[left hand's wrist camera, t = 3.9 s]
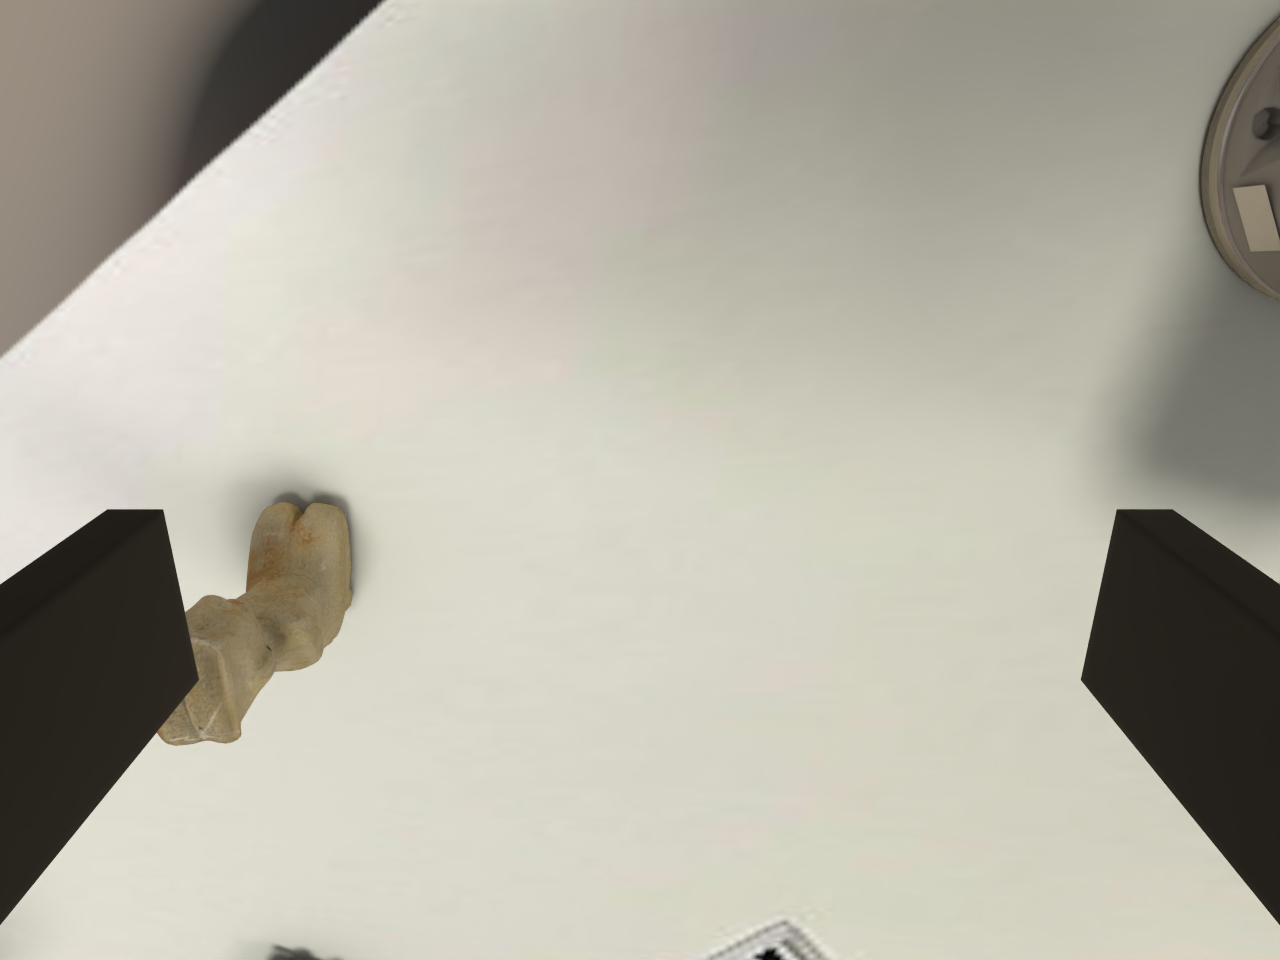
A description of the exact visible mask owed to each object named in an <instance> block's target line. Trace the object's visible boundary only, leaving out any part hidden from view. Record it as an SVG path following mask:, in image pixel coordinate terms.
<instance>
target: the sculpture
mask: <svg viewBox="0 0 1280 960" xmlns="http://www.w3.org/2000/svg"><path fill="white" fill-rule="evenodd" d="M350 575H351V558H350V542H349V531H348V525H347V520H346V517H345V515H344V513H343V512H342V510H341V509H340V508H339V507H337V506H333V505H328V504H323V503H312V504H311V505H309V506H308V507H307V508H306V510H305V512H304V514H302V512H301V511H300V509H299V508H298V507H297V506H295V505H293V504H291V503H288V502H281V503H278V504H274V505H271V506H269V507H267V508H266V509H265V510H264V511H263V513H262V514H261V515H260V517H259V519H258V521H257V523H256V526H255V529H254V531H253V534H252V539H251V546H250V554H249V562H248V572H247V585H246V593H245V594H243V595H241V596H240V597H238V598H237V599H228V600H227V599H225V598H222V597H219V596H215V595H207V596H205V597H203V598H201V599H200V600H199V601H198V602H197V603H196V604H195V605H194V606H193V607H192V608H190V609H189V610H188V611H186V612H185V615H186V620H187V625H188V630H189V634H190V639H191V644H192V648H193V653H194V658H195V663H196V667H197V672H198V677H199V681H198V682H197V683H196V684H195V686H194V687H193V688H192V689H191V691H190V692H189V693H188V694H187V696H186V697H185V698H184V699H183V700H182V702H181V703H180V704H179V705H178V707H177V708H176V709H175V710H174V712H173V713H172V714H171V715H170V716H169V718H168V719H167V720H166V721H165V723H164V724H163V725H162V726H161V728H160V729H159V730H158V731H157V734H158V735H159V736H160V737H161V739H162V740H163V741H164V742H165V743H167V744H171V745H176V746H177V745H188V744H194V743H198V742H201V741H214V742H218V743H230V742H234V741H236V740H237V739H239V738H240V736H241V721H242V719H243V717H244V716H245V714H246V712H247V711H248V709H249V707H250V706H251V704H252V702H253V701H254V699H255V697H256V696H257V694H258V693H259V691H260V690H261V689H262V688H263V687H264V685H265V684H266V683H267V682H268V681H269V680H270V678H271V677H272V675H273V674H274V672H277V671H294V670H299V669H303V668H306V667H308V666H310V665H312V664H314V663H316V662H317V661H318V660H319V659H320V658H321V656H322V653H323V648H325V647H326V646H327V645H329V644H330V643H331V642H332V640H333V639H334V638H335V637H336V636H337V635H338V633H339V631H340V628H341V625H342V622H343V618H344V614H345V611H346V610H347V609H348V608H349V606H350V604H351V601H352V589H351V587H350V586H349V585H350Z"/></svg>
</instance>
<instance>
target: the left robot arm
mask: <svg viewBox="0 0 1280 960" xmlns="http://www.w3.org/2000/svg"><path fill="white" fill-rule="evenodd" d="M1201 189H1202V200H1203V207H1204V212H1205V217H1206V221H1207V224H1208V227H1209V231H1210V234H1211V236H1212V238H1213V240H1214V242H1215V245H1216V247H1217V248H1218V250H1219V252H1220V253H1221V255H1222V257H1223V258H1224V260H1225V261H1226V262H1227V263H1228V265H1229V266H1230V267H1231V268H1232V270H1233V271H1234V272H1235V273H1236V274H1238V275H1239V276H1240V277H1241V278H1242V279H1243V280H1244V281H1245V282H1247V283H1248V284H1249V285H1251V286H1252V287H1254V288H1255V289H1257V290H1259V291H1260V292H1262V293H1264V294H1266V295H1268V296H1270V297H1273V298H1275V299H1278V300H1280V18H1279V19H1278V20H1277V21H1276V22H1274V23H1273V24H1272V25H1271V27H1270V28H1269V29H1268V30H1267V31H1266V32H1265V33H1264V34H1263V35H1262V36H1261V37H1260V38H1259V40H1258V41H1257V42H1256V43H1255V45H1254V46H1253V47H1252V48H1251V50H1250V51H1249V52H1248V53H1247V55H1246V56H1245V58H1244V59H1243V61H1242V62H1241V63H1240V65H1239V66H1238V68H1237V69H1236V71H1235V73H1234V74H1233V76H1232V78H1231V80H1230V81H1229V83H1228V85H1227V87H1226V89H1225V91H1224V93H1223V95H1222V97H1221V99H1220V101H1219V103H1218V106H1217V108H1216V111H1215V114H1214V116H1213V119H1212V122H1211V125H1210V129H1209V132H1208V136H1207V139H1206V144H1205V149H1204V155H1203V163H1202V180H1201ZM198 681H199V677H198V672H197V667H196V663H195V658H194V653H193V648H192V644H191V639H190V634H189V630H188V625H187V620H186V615H185V611H184V606H183V601H182V596H181V592H180V587H179V582H178V578H177V573H176V568H175V563H174V559H173V554H172V549H171V544H170V540H169V535H168V530H167V526H166V521H165V516H164V511H163V509H107V510H106V511H105V512H103V513H102V514H100V515H99V516H97V517H96V518H95V519H93V520H92V521H90V522H89V523H87V524H86V525H85V526H83V527H82V528H80V529H79V530H77V531H76V532H75V533H73V534H72V535H70V536H69V537H67V538H66V539H65V540H63V541H62V542H60V543H59V544H57V545H56V546H55V547H53V548H52V549H50V550H49V551H47V552H46V553H45V554H43V555H42V556H40V557H39V558H37V559H36V560H35V561H33V562H32V563H30V564H29V565H27V566H26V567H25V568H23V569H22V570H20V571H19V572H17V573H16V574H15V575H13V576H12V577H10V578H9V579H7V580H6V581H5V582H3V583H2V584H0V925H1V923H2V922H3V921H4V920H5V918H6V917H7V916H8V915H9V914H10V912H11V911H12V910H13V909H14V907H15V906H16V905H17V904H18V902H19V901H20V900H21V899H22V898H23V896H24V895H25V894H26V893H27V891H28V890H29V889H30V888H31V886H32V885H33V884H34V883H35V882H36V880H37V879H38V878H39V877H40V875H41V874H42V873H43V872H44V870H45V869H46V868H47V867H48V866H49V864H50V863H51V862H52V861H53V859H54V858H55V857H56V856H57V854H58V853H59V852H60V851H61V850H62V848H63V847H64V846H65V845H66V843H67V842H68V841H69V840H70V838H71V837H72V836H73V835H74V833H75V832H76V831H77V830H78V829H79V827H80V826H81V825H82V824H83V822H84V821H85V820H86V819H87V817H88V816H89V815H90V814H91V813H92V811H93V810H94V809H95V808H96V806H97V805H98V804H99V803H100V801H101V800H102V799H103V798H104V797H105V795H106V794H107V793H108V792H109V790H110V789H111V788H112V787H113V785H114V784H115V783H116V782H117V781H118V779H119V778H120V777H121V776H122V774H123V773H124V772H125V771H126V769H127V768H128V767H129V766H130V765H131V763H132V762H133V761H134V760H135V758H136V757H137V756H138V755H139V753H140V752H141V751H142V750H143V749H144V747H145V746H146V745H147V744H148V742H149V741H150V740H151V739H152V737H153V736H154V735H155V734H156V733H157V731H158V730H159V729H160V728H161V726H162V725H163V724H164V723H165V721H166V720H167V719H168V718H169V716H170V715H171V714H172V713H173V712H174V710H175V709H176V708H177V707H178V705H179V704H180V703H181V702H182V700H183V699H184V698H185V697H186V696H187V694H188V693H189V692H190V691H191V689H192V688H193V687H194V686H195V684H196V683H197V682H198ZM1081 681H1082V682H1083V683H1084V684H1085V686H1086V687H1087V688H1088V689H1089V691H1090V692H1091V693H1092V694H1093V696H1094V697H1095V698H1096V699H1097V700H1098V702H1099V703H1100V704H1101V705H1102V707H1103V708H1104V709H1105V710H1106V712H1107V713H1108V714H1109V715H1110V716H1111V718H1112V719H1113V720H1114V721H1115V723H1116V724H1117V725H1118V726H1119V728H1120V729H1121V730H1122V731H1123V733H1124V734H1125V735H1126V736H1127V737H1128V739H1129V740H1130V741H1131V742H1132V744H1133V745H1134V746H1135V747H1136V749H1137V750H1138V751H1139V752H1140V753H1141V755H1142V756H1143V757H1144V758H1145V760H1146V761H1147V762H1148V763H1149V765H1150V766H1151V767H1152V768H1153V769H1154V771H1155V772H1156V773H1157V774H1158V776H1159V777H1160V778H1161V779H1162V781H1163V782H1164V783H1165V784H1166V785H1167V787H1168V788H1169V789H1170V790H1171V792H1172V793H1173V794H1174V795H1175V797H1176V798H1177V799H1178V800H1179V801H1180V803H1181V804H1182V805H1183V806H1184V808H1185V809H1186V810H1187V811H1188V813H1189V814H1190V815H1191V816H1192V817H1193V819H1194V820H1195V821H1196V822H1197V824H1198V825H1199V826H1200V827H1201V829H1202V830H1203V831H1204V832H1205V833H1206V835H1207V836H1208V837H1209V838H1210V840H1211V841H1212V842H1213V843H1214V845H1215V846H1216V847H1217V848H1218V850H1219V851H1220V852H1221V853H1222V854H1223V856H1224V857H1225V858H1226V859H1227V861H1228V862H1229V863H1230V864H1231V866H1232V867H1233V868H1234V869H1235V870H1236V872H1237V873H1238V874H1239V875H1240V877H1241V878H1242V879H1243V880H1244V882H1245V883H1246V884H1247V885H1248V886H1249V888H1250V889H1251V890H1252V891H1253V893H1254V894H1255V895H1256V896H1257V898H1258V899H1259V900H1260V901H1261V902H1262V904H1263V905H1264V906H1265V907H1266V909H1267V910H1268V911H1269V912H1270V914H1271V915H1272V916H1273V917H1274V918H1275V920H1276V921H1277V922H1278V923H1279V925H1280V582H1279V584H1278V583H1277V582H1275V581H1274V580H1273V579H1271V578H1270V577H1268V576H1267V575H1265V574H1264V573H1263V572H1261V571H1260V570H1258V569H1257V568H1255V567H1254V566H1253V565H1251V564H1250V563H1248V562H1247V561H1245V560H1244V559H1243V558H1241V557H1240V556H1238V555H1237V554H1235V553H1234V552H1233V551H1231V550H1230V549H1228V548H1227V547H1225V546H1224V545H1223V544H1221V543H1220V542H1218V541H1217V540H1215V539H1214V538H1213V537H1211V536H1210V535H1208V534H1207V533H1205V532H1204V531H1203V530H1201V529H1200V528H1198V527H1197V526H1195V525H1194V524H1193V523H1191V522H1190V521H1188V520H1187V519H1185V518H1184V517H1183V516H1181V515H1180V514H1178V513H1177V512H1175V511H1174V510H1173V509H1117V511H1116V516H1115V521H1114V526H1113V530H1112V535H1111V540H1110V544H1109V549H1108V554H1107V559H1106V563H1105V568H1104V573H1103V578H1102V582H1101V587H1100V592H1099V596H1098V601H1097V606H1096V611H1095V615H1094V620H1093V625H1092V629H1091V634H1090V639H1089V644H1088V648H1087V653H1086V658H1085V663H1084V667H1083V672H1082V677H1081Z"/></svg>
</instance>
